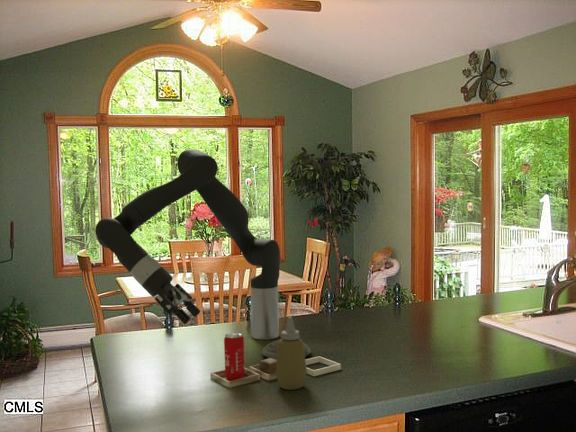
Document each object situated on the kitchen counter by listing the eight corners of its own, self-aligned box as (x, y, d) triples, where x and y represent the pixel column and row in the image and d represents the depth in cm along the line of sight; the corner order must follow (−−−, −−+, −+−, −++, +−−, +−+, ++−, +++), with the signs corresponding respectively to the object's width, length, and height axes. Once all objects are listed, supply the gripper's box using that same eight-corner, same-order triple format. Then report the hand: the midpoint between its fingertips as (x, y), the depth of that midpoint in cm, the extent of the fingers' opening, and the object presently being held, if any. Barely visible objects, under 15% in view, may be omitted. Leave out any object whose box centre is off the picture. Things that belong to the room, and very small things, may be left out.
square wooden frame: (249, 371, 168) (248, 366, 168) (277, 364, 173) (277, 359, 173) (268, 380, 160) (268, 375, 160) (297, 373, 166) (297, 367, 165)
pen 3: (292, 367, 170) (292, 362, 170) (319, 361, 176) (319, 356, 176) (313, 376, 163) (313, 371, 162) (340, 369, 168) (340, 363, 168)
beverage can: (241, 382, 159) (240, 338, 158) (222, 382, 160) (221, 337, 159) (246, 376, 164) (245, 333, 163) (228, 375, 165) (227, 332, 164)
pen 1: (210, 378, 163) (210, 372, 163) (240, 371, 168) (240, 365, 168) (228, 387, 155) (228, 382, 155) (259, 379, 161) (259, 374, 161)
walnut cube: (260, 375, 165) (259, 360, 165) (270, 371, 168) (270, 357, 167) (270, 378, 162) (270, 363, 162) (280, 374, 165) (280, 360, 165)
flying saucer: (286, 346, 193) (286, 329, 193) (321, 355, 183) (321, 337, 182) (251, 356, 183) (251, 338, 183) (286, 367, 172) (285, 348, 172)
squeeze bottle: (274, 382, 159) (273, 314, 158) (305, 380, 160) (303, 313, 158) (276, 392, 151) (275, 322, 150) (308, 391, 152) (307, 320, 150)
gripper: (150, 269, 156) (194, 314, 155) (169, 262, 170) (209, 302, 169) (131, 290, 157) (175, 334, 156) (152, 280, 171) (192, 321, 170)
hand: (193, 317), depth 162 cm, fingers open, 8 cm apart
